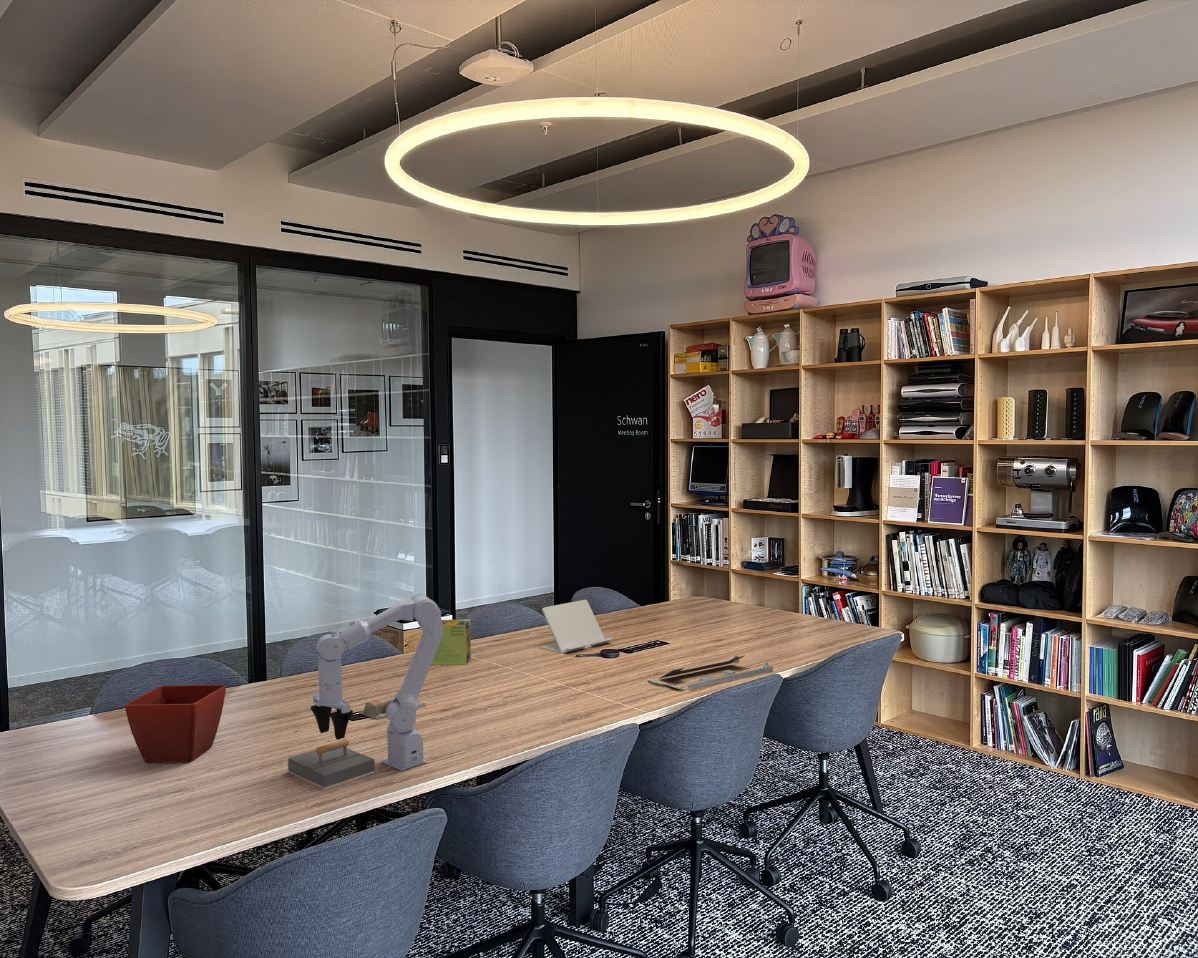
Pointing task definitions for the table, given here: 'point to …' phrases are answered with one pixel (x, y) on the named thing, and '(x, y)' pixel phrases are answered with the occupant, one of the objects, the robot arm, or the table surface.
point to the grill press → (324, 755)
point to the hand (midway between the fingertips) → (332, 735)
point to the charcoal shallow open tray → (335, 771)
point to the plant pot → (176, 721)
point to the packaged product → (381, 707)
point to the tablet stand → (573, 627)
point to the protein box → (454, 643)
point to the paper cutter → (727, 677)
